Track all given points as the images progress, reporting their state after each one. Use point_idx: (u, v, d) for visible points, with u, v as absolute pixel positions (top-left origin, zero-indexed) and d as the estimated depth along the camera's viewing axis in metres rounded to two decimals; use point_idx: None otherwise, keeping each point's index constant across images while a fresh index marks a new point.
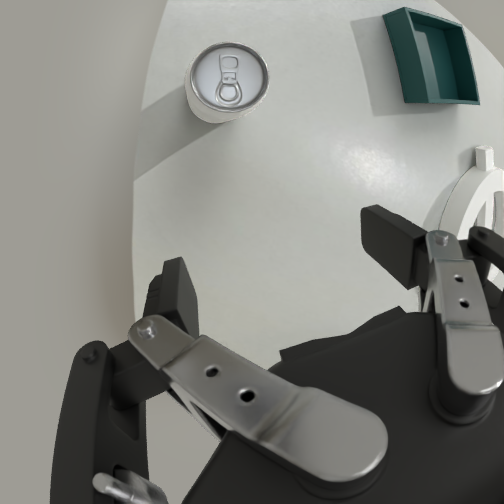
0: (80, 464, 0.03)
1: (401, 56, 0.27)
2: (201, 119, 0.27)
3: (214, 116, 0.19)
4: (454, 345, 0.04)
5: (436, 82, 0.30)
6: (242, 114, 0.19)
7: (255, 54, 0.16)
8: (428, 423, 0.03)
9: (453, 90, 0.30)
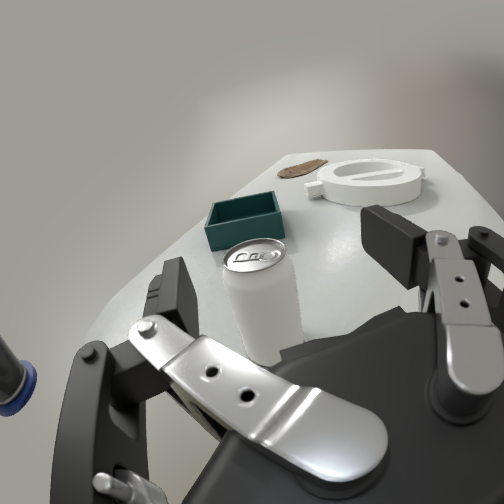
0: (80, 464, 0.03)
1: (246, 237, 0.52)
2: None
3: (289, 272, 0.23)
4: (454, 345, 0.04)
5: None
6: (290, 257, 0.25)
7: (239, 246, 0.26)
8: (428, 423, 0.03)
9: (268, 213, 0.63)
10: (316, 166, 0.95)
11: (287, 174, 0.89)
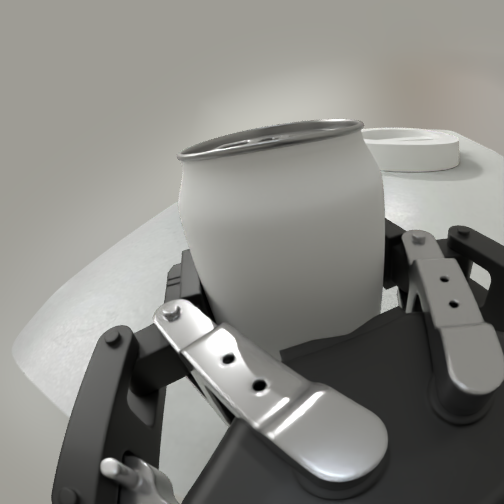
0: (90, 447, 0.04)
1: None
2: None
3: (379, 177, 0.07)
4: (454, 345, 0.04)
5: None
6: None
7: (230, 141, 0.10)
8: (428, 423, 0.03)
9: None
10: None
11: None
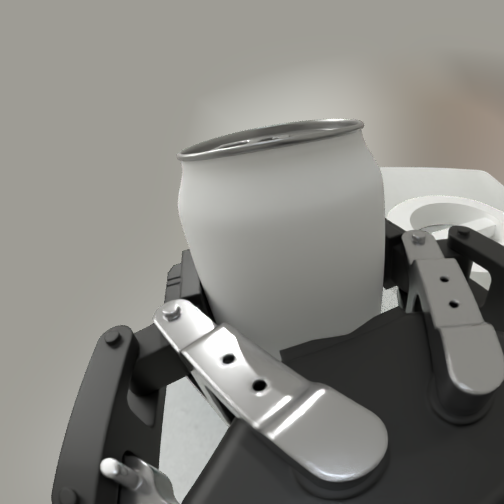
0: (90, 447, 0.04)
1: None
2: None
3: (379, 176, 0.07)
4: (454, 345, 0.04)
5: None
6: None
7: (229, 141, 0.10)
8: (428, 423, 0.03)
9: None
10: None
11: None
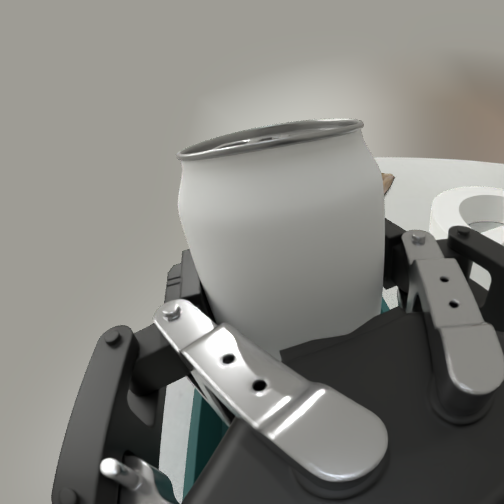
0: (90, 447, 0.04)
1: None
2: None
3: (379, 176, 0.07)
4: (454, 345, 0.04)
5: None
6: None
7: (229, 141, 0.10)
8: (428, 423, 0.03)
9: None
10: (385, 187, 0.53)
11: None
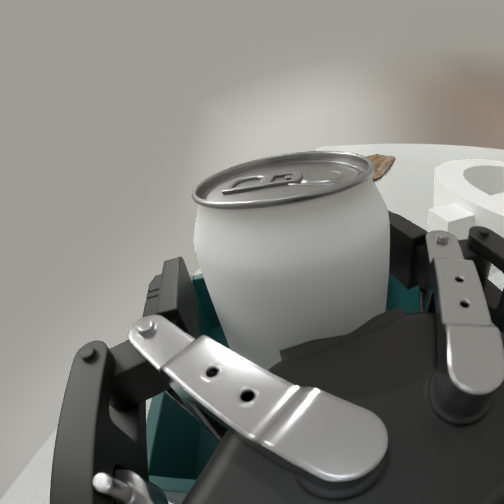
0: (80, 464, 0.03)
1: None
2: None
3: (386, 218, 0.07)
4: (454, 345, 0.04)
5: None
6: None
7: (240, 171, 0.10)
8: (428, 423, 0.03)
9: None
10: (386, 165, 0.50)
11: None
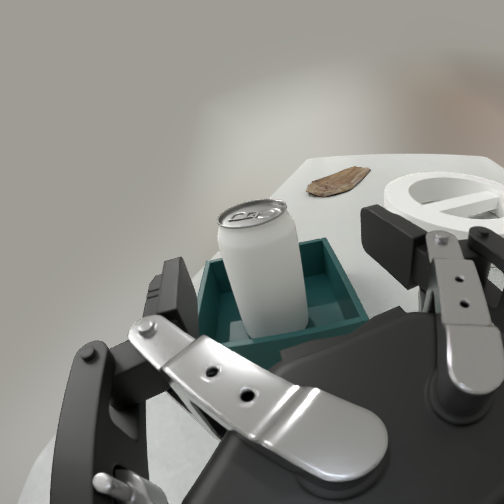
0: (80, 464, 0.03)
1: None
2: (301, 329, 0.25)
3: (290, 230, 0.21)
4: (454, 345, 0.04)
5: (312, 308, 0.28)
6: None
7: (236, 208, 0.24)
8: (428, 423, 0.03)
9: (314, 281, 0.32)
10: (359, 177, 0.64)
11: (322, 191, 0.58)
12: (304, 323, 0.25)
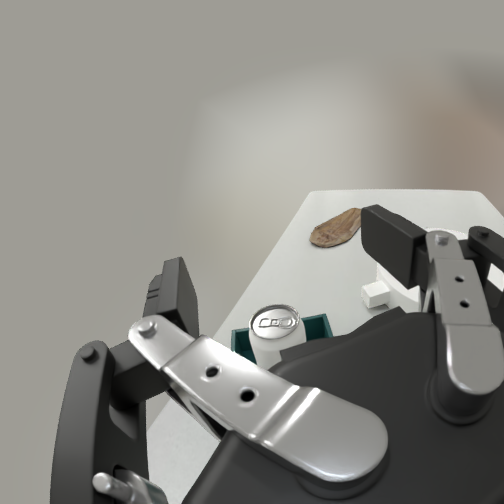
0: (80, 464, 0.03)
1: None
2: None
3: (301, 335, 0.29)
4: (454, 345, 0.04)
5: None
6: (302, 321, 0.31)
7: (261, 311, 0.32)
8: (428, 423, 0.03)
9: None
10: (358, 224, 0.72)
11: (324, 242, 0.67)
12: None
